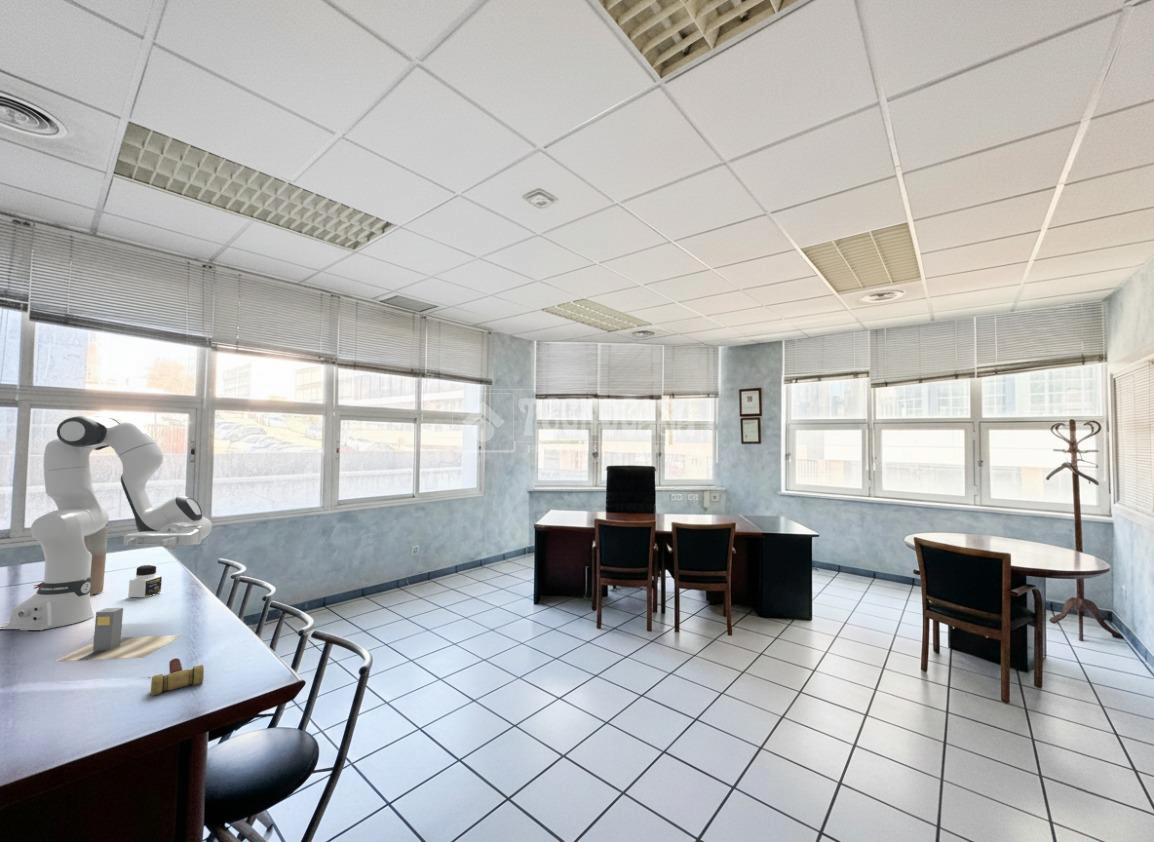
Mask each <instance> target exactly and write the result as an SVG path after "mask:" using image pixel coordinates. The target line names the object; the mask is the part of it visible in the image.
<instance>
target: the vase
mask: <svg viewBox="0 0 1154 842" xmlns="http://www.w3.org/2000/svg"><path fill="white" fill-rule="evenodd" d="M108 533H109V524H108V523H107V524H106V525H105V527H103V528H102V529H100V530H99V531H97V532H95V533H93V534H91V535H87V536H84V543H85V546H86V549H87V550H88V551H89V552H90V553H91V554H92V562H91V574H90V576H92V584H91V589H90V595H92V596H94V595H93V594H96V595H98V594H97V593H99V594H101V593H100V592H102V591H103V592H104V584H105V573H106V560H107V547H108ZM103 592H102V593H103Z"/></svg>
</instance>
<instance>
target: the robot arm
mask: <svg viewBox="0 0 1154 842" xmlns="http://www.w3.org/2000/svg"><path fill="white" fill-rule="evenodd" d="M56 435H57V438H55V439H53V440H51V441H49V442H47V444H46V446H45V448H44V454H43V476H44V477H43V478H44V488H45V493H46V495H47V496H48V497H49V498H51V499H52V500H53V501H54V503H55V506H56V507H57V509H56V510H53V511H50V512H48V513H46V514H44V515H41V516H39V517H38V518H36V519H35V520H34V521H33V522H32V523H31V526H30V534H31V537H32V538H33V539H34V540H35V541H37V542H38V543H39V544H40V546H41V549H42V553H43V555H44V572H43V573H44V576H43V581H42V582H40V583H38V584H35V585H33V590H34V589H37V590H36V592H35V594H33V595H32V596H30V597H29V598H27V599H26V600H24V601H22V602H21V603H19V604H17V605H16V606H15V607H14V608H13V609H12V611H11V612H10V613H11V614H9V615H10V616H9V620H8V621H4V622H2V623H0V628H2V629H4V628H5V629H20V630H19V631H28V630H40V631H43V630H44V629H45V630H48V629H53V628H56V627H57V628H58V627H65V626H68V625H72V624H77V623H81V622H83V621H87V620H89V619H91V618H93V617H94V616H95V615H94V613H93V609H92V604H91V596H90V589H91V584H92V576H90V574H91V562H92V554H91V553H90V552H89V551H88V550H87V549H86V546H85V543H84V536H87V535H91V534H93V533H95V532H97V531H99V530H100V529H102V528H103V527H105V525H106V524H108V523H109V520H110V519H109V518H110V517H109V514H108V512H107V511H106V510H105V508H103V507H102V506H101V505H100V503H99V501H98V499H97V496H96V494H95V492H94V488H93V484H92V475H91V465H90V454H91V452H93V450H95V451H100V450H102V449H105V448H109V447H111V448H112V450H113V451H114V452H115V454H116V455H117V457H118V458H119V460H120V462H121V466H122V474H121V476H120V483H121V485H122V489H123V491H124V494H125V496H126V499H127V502H128V505H129V506H130V509H131V512H132V514H133V517H134V522H135V526H136V529H137V531H138V532H132V533H128V534H125V535H124V536H123V545H124V546H127V547H130V546H131V547H132V546H133V547H134V546H135V547H137V546H139V547H140V546H161V547H163V548H165V549H169V550H171V549H173V550H174V549H176V548H182V547H185V546H186V547H189V546H190V547H191V546H198V545H201V543H202V540H204V539H205V538H206V537H208V536H209V535H210V533H211V532H212V529H213V523H212V521H211V520H210V519H209V518H207V517H205V516H204V515H203V511H202V507H201V506H200V504H199V503H198V501H196V500H195V499H193V498H192V497H190V496H185V495H178V496H177V495H176V496H175V497H173V498H171V499H170V500H167V501H166V502H164V503H163V504H160V505H159V506H156V507H155V508H153V507H152V504H151V501H150V499H149V495H148V494H147V491H146V485H147V483H148V481H149V480H150V478H151V477H152V476H153V475H154V473H155V472H156V471H158V469H159V468H160V467H161V465H162V464H163V460H164V454H163V452H162V450H161V448H160V447H159V445H158V443H157V442H156V441H155V439H154V438H153V437H152V435H151V434H150V433H149V432H148V431H147V430H146V429H145V428H144V426H143V425H141V424H140V423H138V422H134V421H125V422H120V421H119V420H117V419H115V418H110V417H102V416H96V415H95V416H94V415H92V416H82V415H81V416H79V415H78V416H72V417H68V418H66V419H64V420H62V421H61V422H60V423H59V424H58V426H57V429H56ZM93 615H94V616H93ZM92 616H93V617H92ZM45 630H44V631H45Z"/></svg>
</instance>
